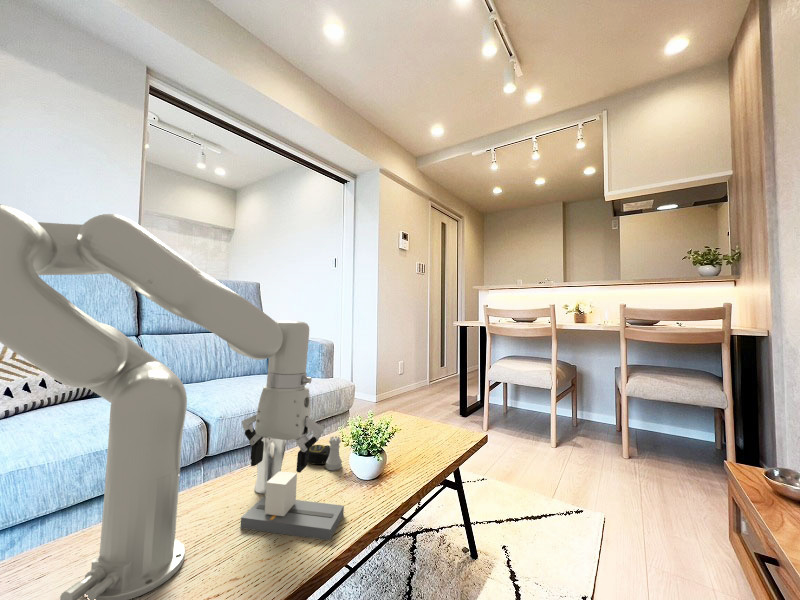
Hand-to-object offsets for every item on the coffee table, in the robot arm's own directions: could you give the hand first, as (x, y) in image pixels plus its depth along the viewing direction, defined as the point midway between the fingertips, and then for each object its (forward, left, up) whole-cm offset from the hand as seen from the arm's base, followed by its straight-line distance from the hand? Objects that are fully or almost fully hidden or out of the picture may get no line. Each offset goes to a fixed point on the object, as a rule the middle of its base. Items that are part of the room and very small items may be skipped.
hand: (278, 466), depth 67 cm
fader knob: (+1, -1, -8) cm, 8 cm away
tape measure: (+29, +2, -11) cm, 31 cm away
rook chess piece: (+25, -3, -11) cm, 28 cm away
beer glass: (+12, +8, -11) cm, 18 cm away
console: (+1, -4, -11) cm, 11 cm away
